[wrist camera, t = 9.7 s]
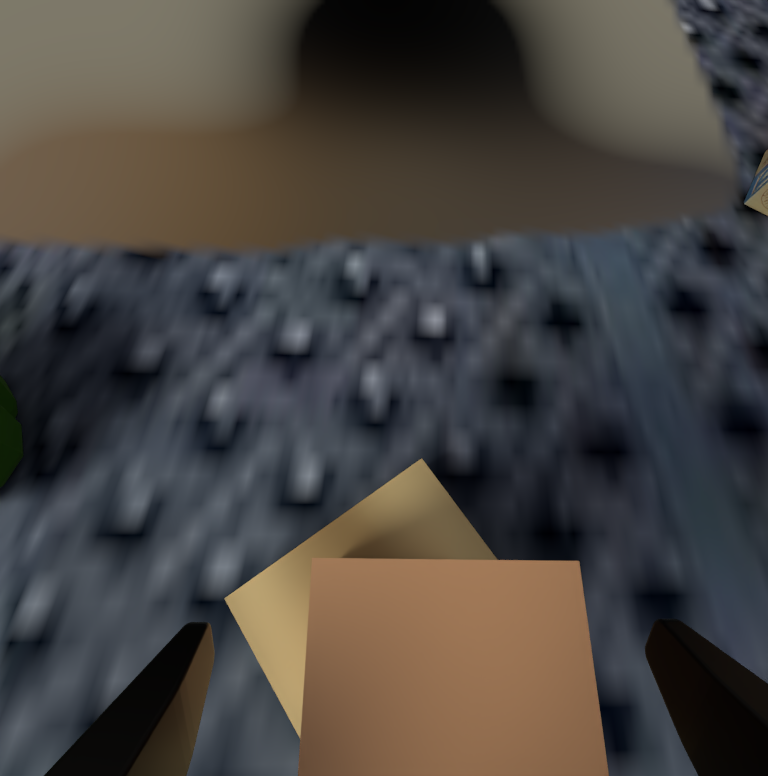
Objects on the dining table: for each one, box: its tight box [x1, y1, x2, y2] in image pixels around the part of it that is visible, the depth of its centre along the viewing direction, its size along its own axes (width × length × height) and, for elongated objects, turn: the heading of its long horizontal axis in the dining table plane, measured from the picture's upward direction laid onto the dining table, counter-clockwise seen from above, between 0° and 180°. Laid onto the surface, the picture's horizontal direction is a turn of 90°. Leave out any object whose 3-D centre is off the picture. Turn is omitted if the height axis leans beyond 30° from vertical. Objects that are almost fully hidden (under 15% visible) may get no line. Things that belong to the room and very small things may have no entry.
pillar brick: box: [298, 558, 609, 776], centre depth 11 cm, size 4×4×10 cm
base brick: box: [225, 458, 497, 737], centre depth 18 cm, size 9×9×4 cm
